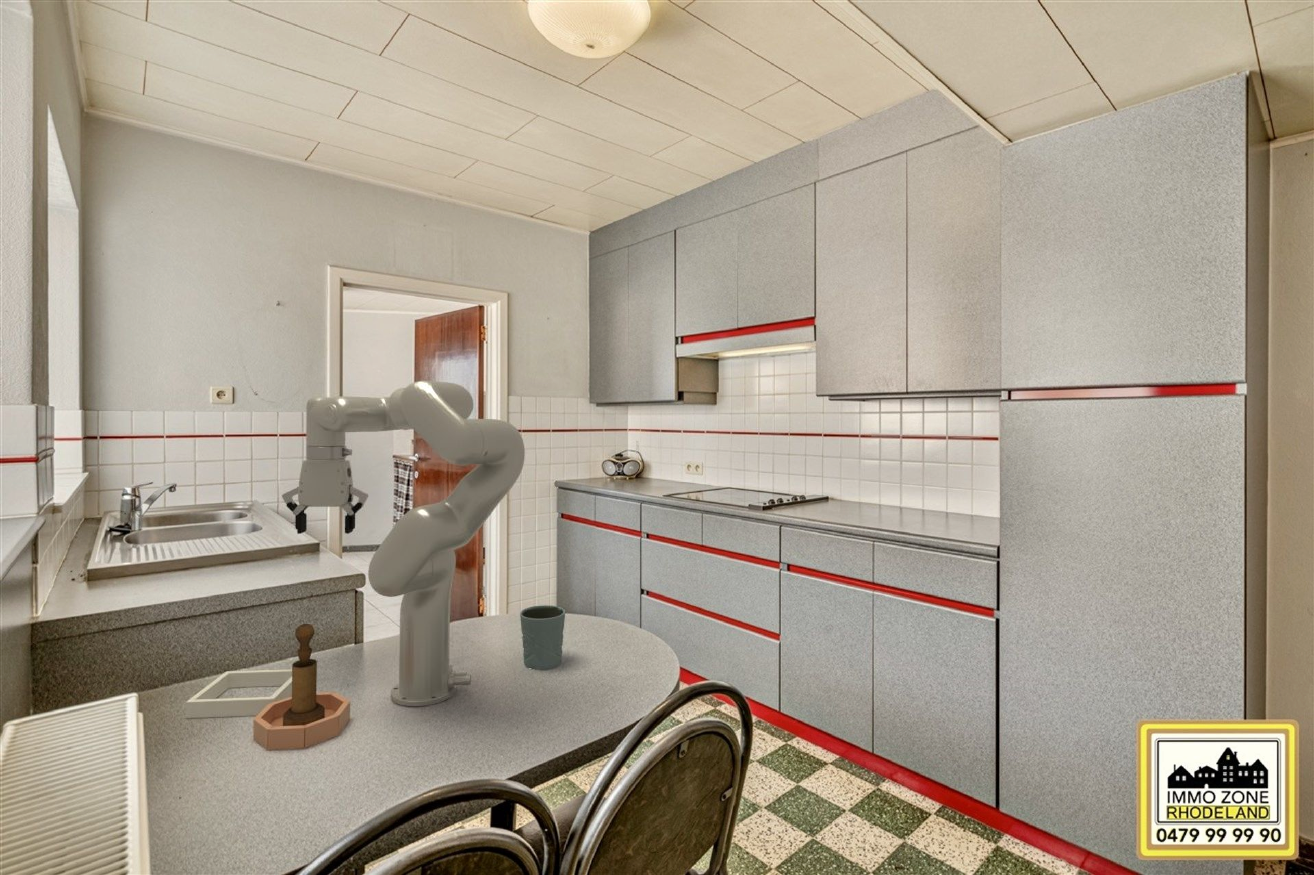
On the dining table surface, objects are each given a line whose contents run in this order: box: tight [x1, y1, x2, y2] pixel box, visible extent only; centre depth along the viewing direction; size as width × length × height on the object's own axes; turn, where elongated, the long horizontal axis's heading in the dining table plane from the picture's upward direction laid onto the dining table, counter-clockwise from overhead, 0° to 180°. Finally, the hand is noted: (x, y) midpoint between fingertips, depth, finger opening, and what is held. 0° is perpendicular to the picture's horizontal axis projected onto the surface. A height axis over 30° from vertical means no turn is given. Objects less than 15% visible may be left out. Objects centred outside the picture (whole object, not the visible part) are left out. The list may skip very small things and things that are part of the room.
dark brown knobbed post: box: [283, 623, 325, 726], centre depth 113 cm, size 7×6×18 cm
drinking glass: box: [519, 604, 566, 671], centre depth 146 cm, size 10×10×12 cm
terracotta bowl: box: [252, 691, 351, 751], centre depth 114 cm, size 14×14×4 cm
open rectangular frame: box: [185, 668, 292, 719], centre depth 124 cm, size 15×14×3 cm
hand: (325, 532), depth 138 cm, fingers open, 9 cm apart
